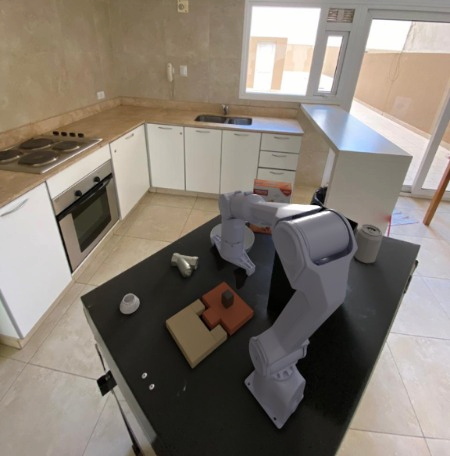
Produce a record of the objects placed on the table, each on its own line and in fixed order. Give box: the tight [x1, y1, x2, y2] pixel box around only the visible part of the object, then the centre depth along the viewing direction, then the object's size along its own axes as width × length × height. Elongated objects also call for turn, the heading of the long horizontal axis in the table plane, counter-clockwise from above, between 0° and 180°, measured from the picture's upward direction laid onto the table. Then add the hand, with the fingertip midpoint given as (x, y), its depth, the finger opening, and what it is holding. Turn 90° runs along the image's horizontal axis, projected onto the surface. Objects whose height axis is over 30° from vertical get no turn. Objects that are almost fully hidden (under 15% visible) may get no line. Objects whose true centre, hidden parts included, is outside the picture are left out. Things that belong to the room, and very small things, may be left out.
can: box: [353, 223, 384, 264], centre depth 87 cm, size 8×8×12 cm
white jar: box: [119, 293, 141, 315], centre depth 68 cm, size 5×3×5 cm
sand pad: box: [165, 298, 228, 369], centre depth 62 cm, size 12×10×2 cm
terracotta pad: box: [201, 281, 254, 336], centre depth 67 cm, size 12×11×6 cm
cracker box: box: [248, 178, 293, 235], centre depth 98 cm, size 14×6×21 cm, turn 81°
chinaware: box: [209, 222, 255, 255], centre depth 87 cm, size 15×15×8 cm
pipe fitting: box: [170, 252, 199, 278], centre depth 80 cm, size 8×4×7 cm
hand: (230, 277), depth 67 cm, fingers open, 7 cm apart
